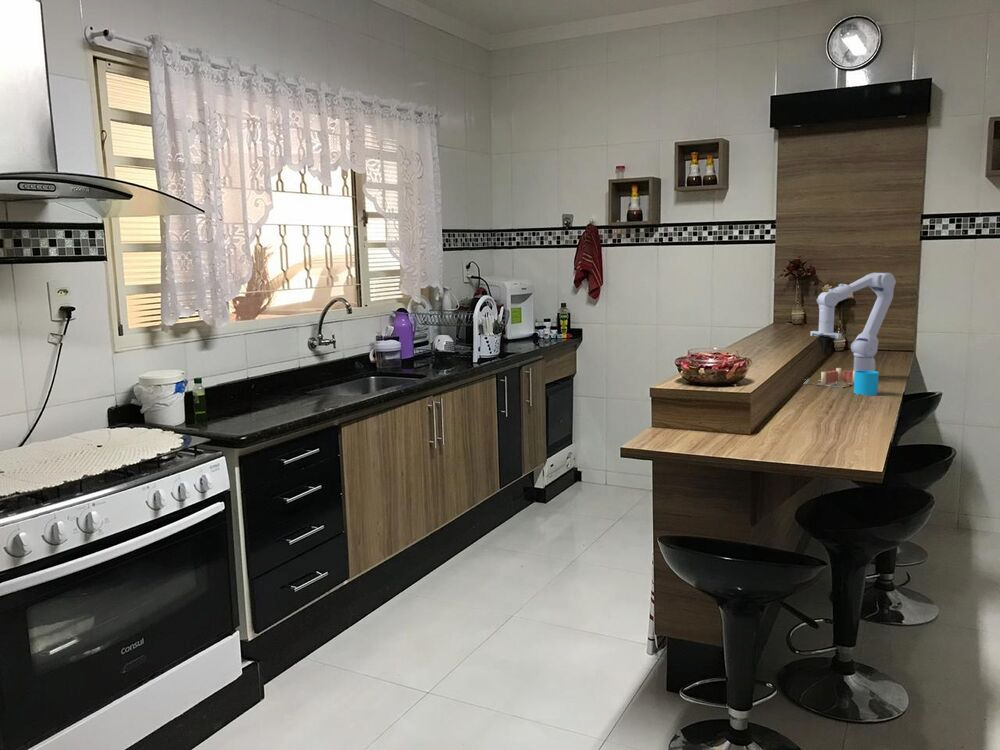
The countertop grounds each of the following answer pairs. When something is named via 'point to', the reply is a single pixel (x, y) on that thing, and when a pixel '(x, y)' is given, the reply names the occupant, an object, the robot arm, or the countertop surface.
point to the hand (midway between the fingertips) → (824, 354)
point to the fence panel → (829, 377)
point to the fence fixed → (846, 375)
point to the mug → (866, 382)
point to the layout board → (828, 383)
